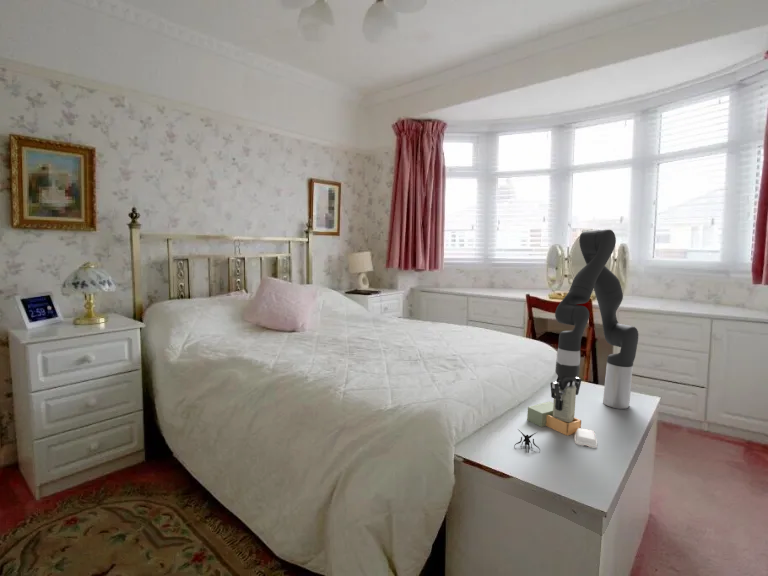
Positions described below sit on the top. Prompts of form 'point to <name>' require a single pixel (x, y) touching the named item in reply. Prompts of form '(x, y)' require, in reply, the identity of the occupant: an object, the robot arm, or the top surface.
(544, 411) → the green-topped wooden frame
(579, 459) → the top surface
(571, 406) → the skincare box
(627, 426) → the top surface
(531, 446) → the creature
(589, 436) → the soap
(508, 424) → the top surface
